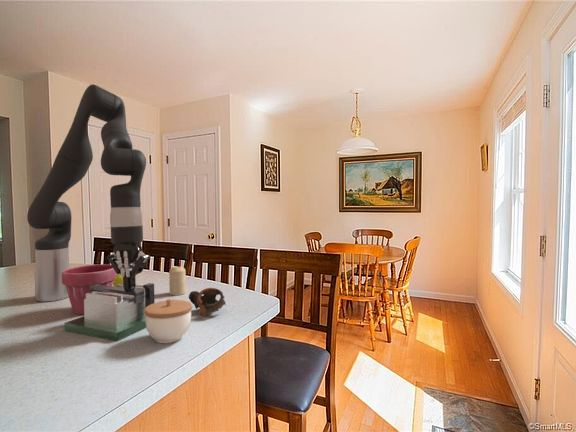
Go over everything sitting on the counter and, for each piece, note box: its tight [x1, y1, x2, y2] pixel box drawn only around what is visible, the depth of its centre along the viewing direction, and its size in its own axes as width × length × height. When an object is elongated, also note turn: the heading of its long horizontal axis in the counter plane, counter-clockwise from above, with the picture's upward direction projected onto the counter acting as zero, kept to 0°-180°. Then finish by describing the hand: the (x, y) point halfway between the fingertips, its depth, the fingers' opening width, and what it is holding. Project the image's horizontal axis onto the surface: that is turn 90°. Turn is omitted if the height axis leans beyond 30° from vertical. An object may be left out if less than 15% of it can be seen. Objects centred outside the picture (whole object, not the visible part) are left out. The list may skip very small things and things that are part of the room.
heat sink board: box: [64, 282, 155, 342], centre depth 85 cm, size 18×16×11 cm
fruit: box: [112, 274, 123, 287], centre depth 119 cm, size 7×7×12 cm
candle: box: [168, 265, 187, 296], centre depth 115 cm, size 6×6×10 cm
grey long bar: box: [90, 284, 144, 304], centre depth 85 cm, size 16×3×3 cm, turn 69°
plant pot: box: [62, 263, 117, 315], centre depth 97 cm, size 14×14×13 cm
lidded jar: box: [145, 298, 193, 344], centre depth 77 cm, size 11×11×9 cm
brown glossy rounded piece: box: [188, 287, 227, 318], centre depth 95 cm, size 12×10×8 cm
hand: (129, 290), depth 84 cm, fingers closed
